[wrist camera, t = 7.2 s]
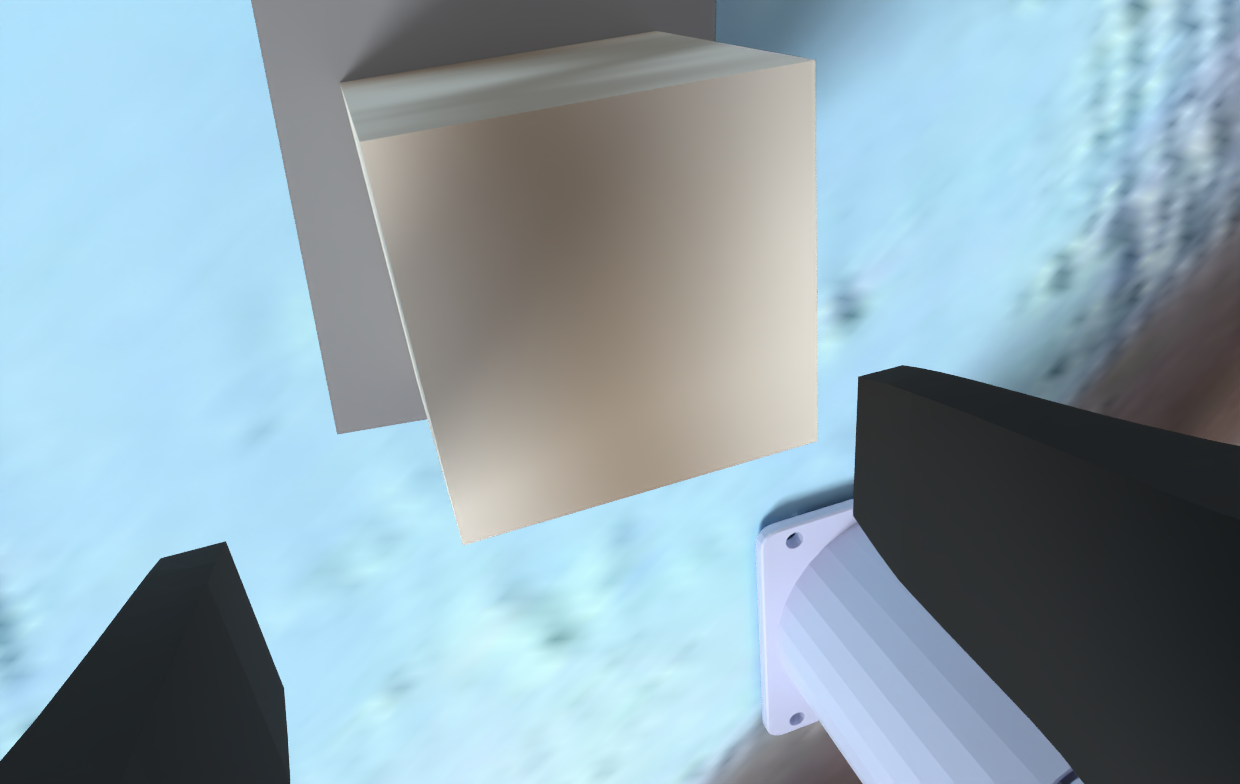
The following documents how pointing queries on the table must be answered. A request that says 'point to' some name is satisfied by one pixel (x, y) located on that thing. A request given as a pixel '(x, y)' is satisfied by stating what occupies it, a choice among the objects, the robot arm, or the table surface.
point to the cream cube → (599, 264)
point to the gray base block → (330, 166)
